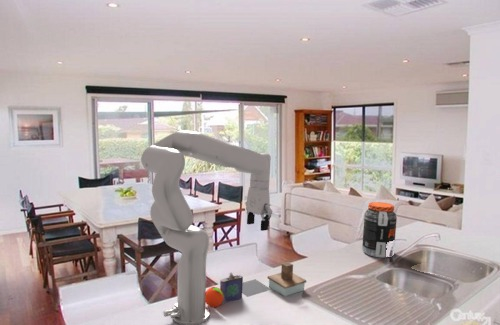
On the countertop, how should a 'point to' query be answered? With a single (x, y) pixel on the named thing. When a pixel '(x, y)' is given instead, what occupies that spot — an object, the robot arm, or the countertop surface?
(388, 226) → the supplement tub
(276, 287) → the dish
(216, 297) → the clementine
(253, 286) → the mat
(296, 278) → the lid
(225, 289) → the flask
